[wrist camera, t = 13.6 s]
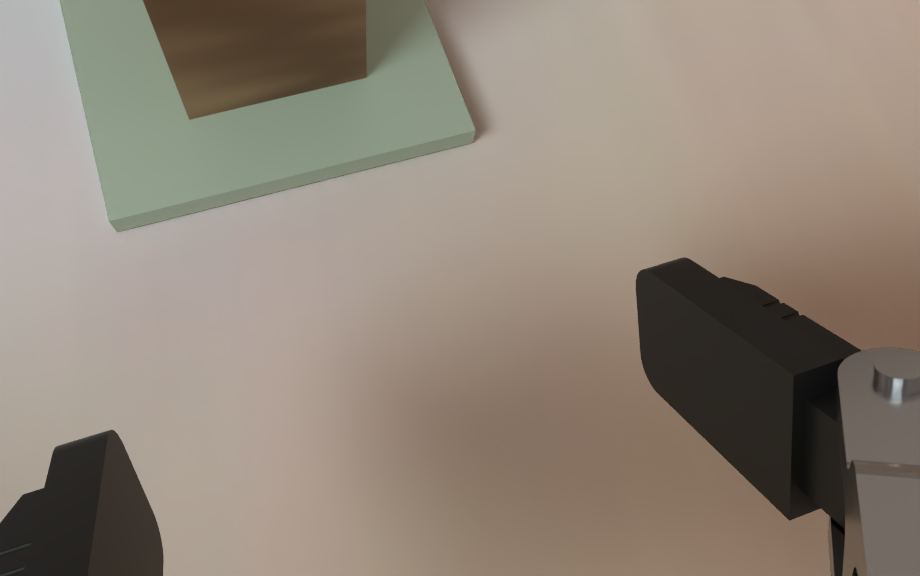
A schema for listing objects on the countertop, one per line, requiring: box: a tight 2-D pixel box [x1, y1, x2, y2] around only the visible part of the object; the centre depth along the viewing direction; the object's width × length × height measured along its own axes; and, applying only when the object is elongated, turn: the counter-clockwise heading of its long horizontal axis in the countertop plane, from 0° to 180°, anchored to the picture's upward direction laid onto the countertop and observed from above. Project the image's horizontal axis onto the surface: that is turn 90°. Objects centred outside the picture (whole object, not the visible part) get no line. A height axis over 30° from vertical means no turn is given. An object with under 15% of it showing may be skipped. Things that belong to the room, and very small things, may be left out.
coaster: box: [60, 0, 476, 232], centre depth 21 cm, size 9×9×1 cm
